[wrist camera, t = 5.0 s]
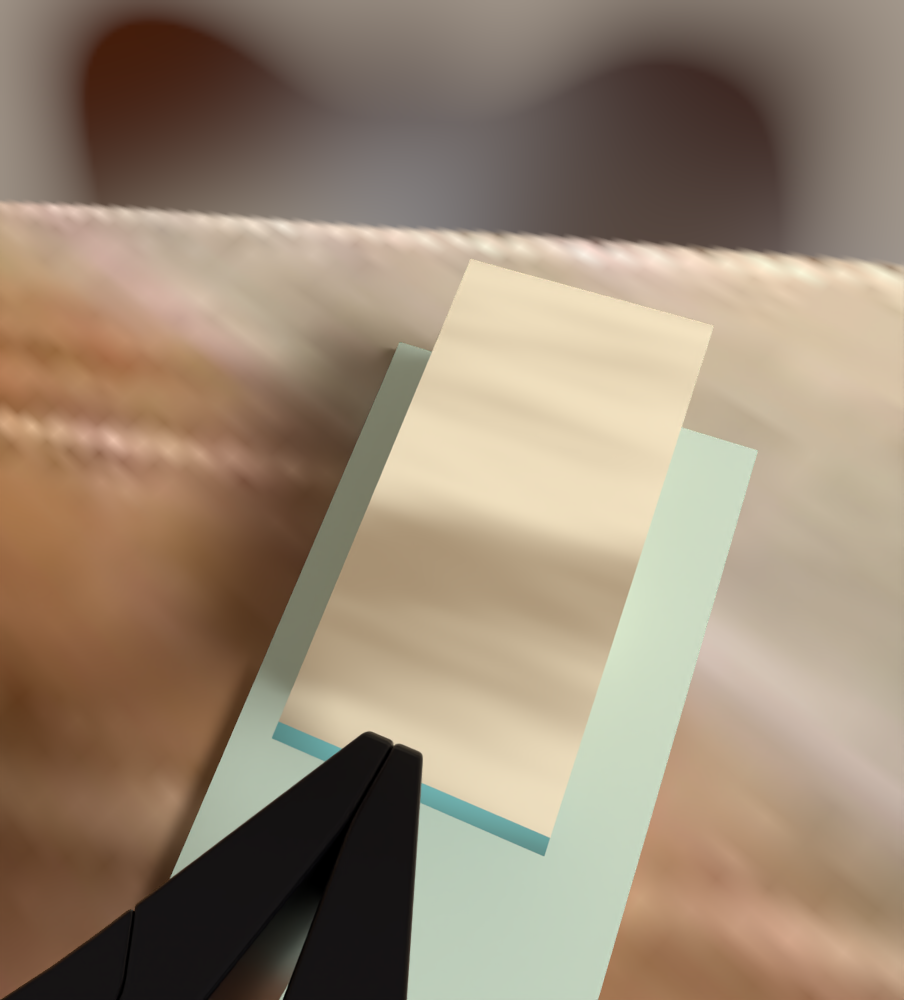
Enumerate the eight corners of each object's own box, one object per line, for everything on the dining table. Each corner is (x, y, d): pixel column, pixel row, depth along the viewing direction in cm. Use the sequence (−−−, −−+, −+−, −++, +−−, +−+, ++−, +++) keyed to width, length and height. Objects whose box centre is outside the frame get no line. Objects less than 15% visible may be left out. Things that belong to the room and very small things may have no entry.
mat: (555, 1128, 15) (555, 1143, 14) (157, 925, 16) (146, 933, 16) (751, 456, 18) (757, 450, 17) (402, 350, 20) (399, 341, 19)
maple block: (544, 856, 11) (714, 325, 13) (271, 737, 12) (470, 258, 14) (537, 803, 16) (662, 421, 18) (343, 722, 17) (483, 367, 19)
